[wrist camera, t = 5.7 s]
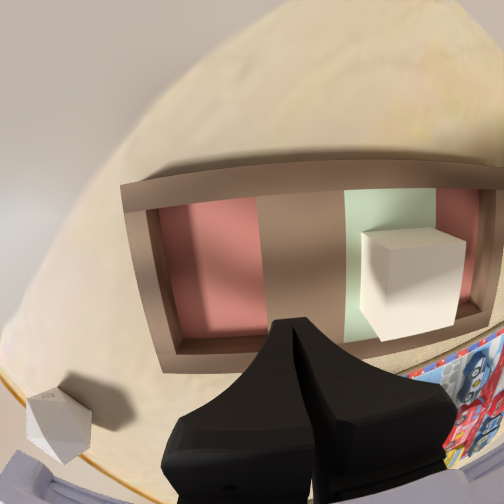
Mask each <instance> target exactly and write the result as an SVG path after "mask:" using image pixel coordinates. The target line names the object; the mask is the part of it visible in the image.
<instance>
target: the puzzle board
mask: <svg viewBox="0 0 504 504" xmlns="http://www.w3.org/2000/svg"><path fill="white" fill-rule="evenodd" d="M395 375H399V376H402V377H406V378H409V379H414V380H419V381H425V382H431V383H438V384H440V385H441V386H442V387H443V388H444V390H445V391H446V392H447V393H448V395H449V396H450V398H451V399H452V401H453V402H454V404H455V405H456V407H457V409H458V416H457V419H456V422H455V424H454V427H453V428H452V430H451V432H450V434H449V436H448V437H447V439H446V441H445V443H444V444H443V448H444V450H445V452H446V458H445V459H444V462H445V464H446V466H447V468H448V469H449V468H451V467H453V466H454V465H456V463H457V462H458V461H459V460H461V459H463V458H464V457H466V456H469V457H471V456H472V455H474V454H475V453H477V452H478V451H480V450H481V449H482V448H483V447H484V446H486V445H487V444H489V443H490V441H491V440H492V438H493V436H494V435H495V434H496V432H497V431H498V429H499V427H500V425H499V424H500V422H501V420H502V418H503V417H504V321H503V322H501V323H500V324H498V325H496V326H495V327H493V328H491V329H489V330H488V331H486V332H484V333H482V334H481V335H479V336H477V337H475V338H473V339H471V340H469V341H468V342H466V343H464V344H462V345H460V346H458V347H456V348H454V349H452V350H450V351H448V352H446V353H443V354H441V355H439V356H437V357H435V358H433V359H430V360H428V361H426V362H423V363H421V364H419V365H416V366H414V367H412V368H409V369H407V370H404V371H401V372H399V373H396V374H395Z"/></svg>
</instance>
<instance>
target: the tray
mask: <svg viewBox="0 0 504 504" xmlns="http://www.w3.org/2000/svg"><path fill="white" fill-rule="evenodd" d="M120 189H121V197H122V204H123V211H124V217H125V224H126V230H127V235H128V241H129V246H130V251H131V256H132V261H133V266H134V271H135V275H136V280H137V284H138V288H139V292H140V296H141V300H142V304H143V308H144V312H145V316H146V320H147V323H148V327H149V330H150V334H151V337H152V340H153V344H154V347H155V350H156V353H157V357H158V360H159V363H160V366H161V369H162V372H163V373H177V374H223V373H243V372H244V371H245V370H246V369H247V368H248V366H249V365H250V364H251V362H252V361H253V360H254V358H255V357H256V355H257V354H258V352H259V351H260V349H261V347H262V345H263V343H264V341H265V340H266V338H267V335H268V333H269V330H270V328H271V323H272V321H273V320H276V319H287V318H297V317H307V318H308V319H309V320H310V321H311V322H312V323H313V324H314V325H315V326H316V327H317V328H318V329H319V330H320V331H321V332H322V333H323V334H324V335H326V336H327V337H328V338H329V339H330V340H331V341H333V342H334V343H335V344H336V345H338V346H339V347H341V348H342V349H343V350H345V351H346V352H348V353H349V354H351V355H353V356H354V357H356V358H358V359H360V360H362V359H368V358H373V357H378V356H383V355H388V354H392V353H397V352H401V351H406V350H410V349H414V348H418V347H422V346H426V345H430V344H434V343H437V342H441V341H444V340H448V339H451V338H454V337H458V336H461V335H464V334H467V333H470V332H473V331H476V330H479V329H482V328H485V327H488V325H489V321H490V318H491V314H492V310H493V305H494V301H495V296H496V292H497V286H498V281H499V275H500V269H501V263H502V255H503V247H504V168H502V167H495V166H486V165H477V164H467V163H456V162H442V161H425V160H396V159H348V160H318V161H299V162H284V163H271V164H260V165H249V166H240V167H231V168H222V169H214V170H207V171H199V172H192V173H186V174H179V175H173V176H167V177H161V178H155V179H150V180H144V181H139V182H134V183H129V184H124V185H120ZM423 227H431V228H434V229H436V230H439V231H441V232H444V233H446V234H449V235H451V236H454V237H456V238H459V239H461V240H464V241H466V251H465V261H464V269H463V277H462V283H461V290H460V296H459V301H458V306H457V311H456V316H455V321H454V325H452V326H448V327H444V328H440V329H437V330H433V331H429V332H424V333H420V334H416V335H412V336H407V337H403V338H398V339H393V340H388V341H383V342H381V340H380V339H379V337H378V336H377V334H376V333H375V331H374V329H373V328H372V326H371V325H370V323H369V322H368V321H367V319H366V318H365V316H364V315H363V313H362V312H361V310H360V291H361V232H370V231H383V230H396V229H409V228H423Z"/></svg>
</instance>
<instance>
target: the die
mask: <svg viewBox="0 0 504 504" xmlns="http://www.w3.org/2000/svg"><path fill="white" fill-rule="evenodd" d="M26 411H27V413H26V435H27V438H28V439H29V440H30V441H32V442H33V443H34V444H35V445H36V446H38V447H39V448H41V449H42V450H43V451H44V452H46V453H47V454H49V455H50V456H52V457H53V458H54V459H56V460H57V461H59V462H60V463H62V464H63V465H65V464H66V463H68V462H69V461H71V460H72V459H74V458H75V457H77V456H78V455H80V454H81V453H83V452H84V451H86V450H87V449H89V448H90V438H91V423H92V411H90V410H89V409H87V408H86V407H84V406H83V405H81V404H80V403H79V402H77V401H76V400H74V399H73V398H72V397H70V396H69V395H67V394H66V393H65V392H63V391H62V390H61V389H59V388H58V387H56V388H53V389H51V390H48V391H46V392H43V393H40V394H38V395H35V396H33V397H30V398H27V410H26Z"/></svg>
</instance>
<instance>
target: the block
mask: <svg viewBox="0 0 504 504" xmlns="http://www.w3.org/2000/svg"><path fill="white" fill-rule="evenodd" d="M465 251H466V241H464V240H461V239H459V238H456V237H454V236H451V235H449V234H446V233H444V232H441V231H439V230H436V229H434V228H431V227H423V228H409V229H396V230H383V231H370V232H361V291H360V310H361V312H362V313H363V315H364V316H365V318H366V319H367V321H368V322H369V323H370V325H371V326H372V328H373V329H374V331H375V333H376V334H377V336H378V337H379V339H380V340H381V342H383V341H388V340H393V339H398V338H403V337H407V336H412V335H416V334H420V333H424V332H429V331H433V330H437V329H440V328H444V327H448V326H452V325H454V321H455V316H456V311H457V306H458V301H459V296H460V290H461V283H462V277H463V269H464V261H465Z"/></svg>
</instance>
